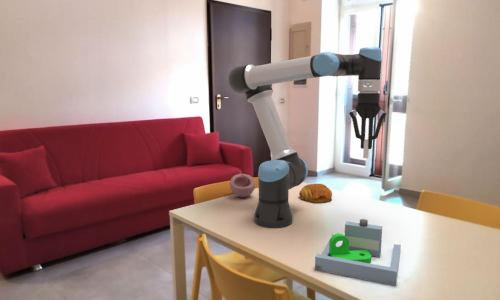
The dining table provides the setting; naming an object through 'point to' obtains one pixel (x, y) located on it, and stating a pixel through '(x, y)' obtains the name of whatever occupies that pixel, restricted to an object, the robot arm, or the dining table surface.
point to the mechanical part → (347, 250)
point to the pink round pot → (242, 185)
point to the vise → (359, 267)
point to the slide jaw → (364, 237)
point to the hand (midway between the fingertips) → (365, 157)
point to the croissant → (316, 193)
